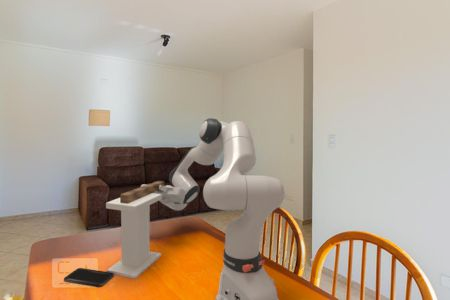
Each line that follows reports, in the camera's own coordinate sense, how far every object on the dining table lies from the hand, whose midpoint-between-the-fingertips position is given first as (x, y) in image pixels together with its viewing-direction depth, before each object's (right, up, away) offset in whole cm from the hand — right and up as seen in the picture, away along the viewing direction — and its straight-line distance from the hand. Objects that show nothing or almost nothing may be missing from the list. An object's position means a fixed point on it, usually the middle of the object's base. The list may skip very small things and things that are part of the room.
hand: (154, 186), depth 115 cm
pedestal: (-4, -29, -10) cm, 31 cm away
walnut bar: (-2, -2, -7) cm, 7 cm away
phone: (-17, -30, -21) cm, 40 cm away
